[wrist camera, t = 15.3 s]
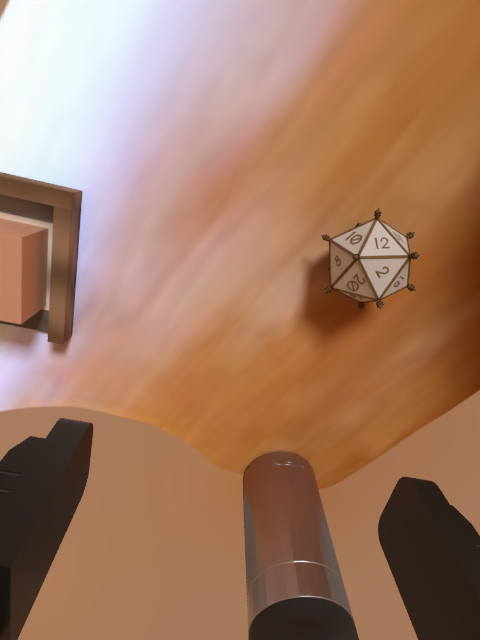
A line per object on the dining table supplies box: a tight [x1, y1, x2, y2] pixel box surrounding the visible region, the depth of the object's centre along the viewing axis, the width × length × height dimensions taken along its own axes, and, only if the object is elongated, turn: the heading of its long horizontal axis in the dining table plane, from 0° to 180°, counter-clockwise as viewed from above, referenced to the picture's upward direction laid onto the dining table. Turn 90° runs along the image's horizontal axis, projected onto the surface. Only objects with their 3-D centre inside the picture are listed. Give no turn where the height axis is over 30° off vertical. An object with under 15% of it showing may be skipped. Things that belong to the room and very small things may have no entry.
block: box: [0, 218, 49, 324], centre depth 35 cm, size 4×8×5 cm, turn 168°
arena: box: [0, 172, 82, 344], centre depth 37 cm, size 15×8×2 cm, turn 167°
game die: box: [322, 208, 420, 310], centre depth 35 cm, size 9×8×10 cm
